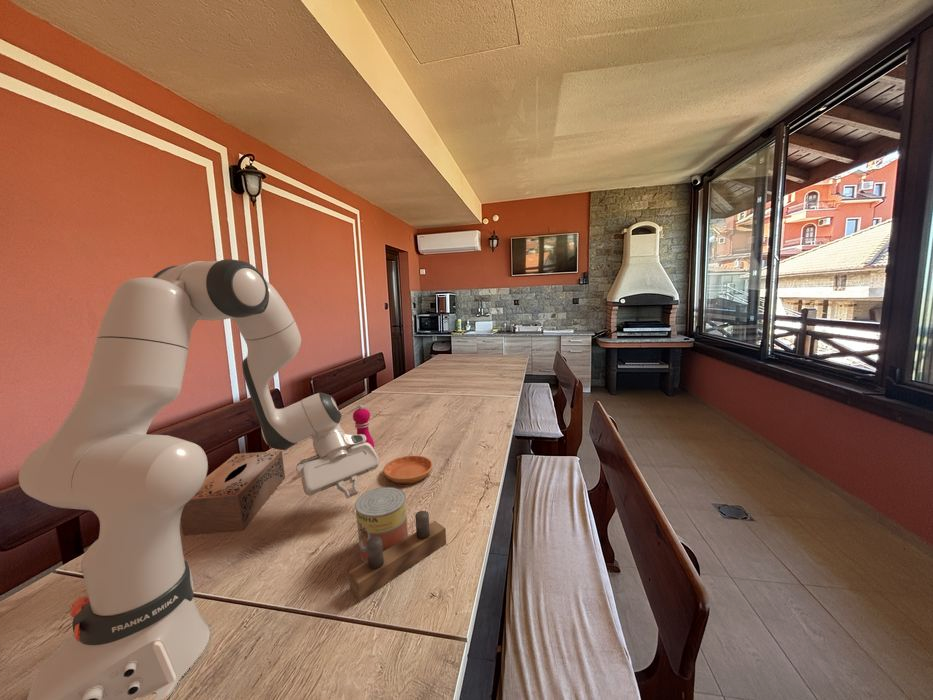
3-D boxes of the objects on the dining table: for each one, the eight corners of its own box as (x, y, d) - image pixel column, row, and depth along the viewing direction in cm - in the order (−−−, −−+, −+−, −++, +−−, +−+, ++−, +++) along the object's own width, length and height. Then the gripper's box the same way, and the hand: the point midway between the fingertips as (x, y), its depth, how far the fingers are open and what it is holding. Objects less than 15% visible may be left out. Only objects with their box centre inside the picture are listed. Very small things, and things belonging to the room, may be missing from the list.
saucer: (381, 468, 121) (380, 460, 120) (426, 459, 126) (425, 451, 126) (387, 492, 106) (387, 483, 105) (438, 480, 111) (438, 472, 111)
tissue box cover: (242, 531, 90) (237, 495, 88) (183, 536, 89) (176, 500, 87) (285, 479, 115) (281, 450, 114) (239, 482, 114) (235, 453, 113)
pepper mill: (369, 462, 125) (365, 408, 121) (350, 461, 126) (346, 407, 123) (378, 453, 132) (374, 402, 128) (360, 452, 133) (356, 401, 130)
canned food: (351, 547, 83) (346, 500, 81) (393, 525, 90) (390, 481, 88) (373, 574, 74) (369, 522, 73) (418, 547, 82) (415, 500, 80)
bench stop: (360, 601, 68) (356, 560, 66) (350, 589, 71) (346, 549, 69) (446, 543, 83) (444, 508, 81) (435, 535, 86) (433, 501, 84)
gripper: (295, 457, 88) (314, 509, 83) (369, 433, 102) (390, 476, 96) (291, 467, 92) (309, 518, 87) (363, 443, 106) (383, 485, 100)
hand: (352, 495), depth 92 cm, fingers closed
